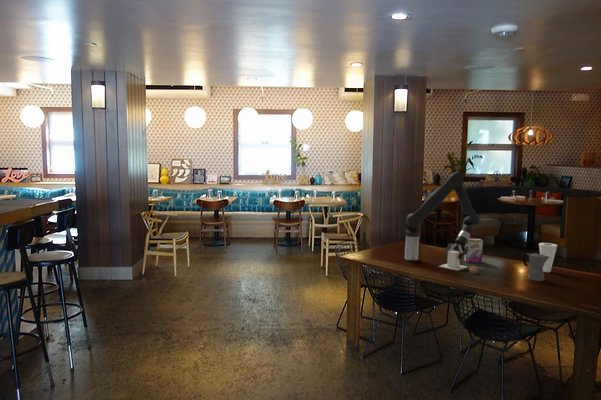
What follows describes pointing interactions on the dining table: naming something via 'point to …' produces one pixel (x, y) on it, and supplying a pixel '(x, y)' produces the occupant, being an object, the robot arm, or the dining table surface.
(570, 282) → the dining table surface
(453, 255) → the beige block
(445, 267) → the mat
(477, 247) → the candy bar box
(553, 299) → the dining table surface
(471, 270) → the terracotta block
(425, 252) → the dining table surface
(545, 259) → the coffeepot
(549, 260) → the cup
